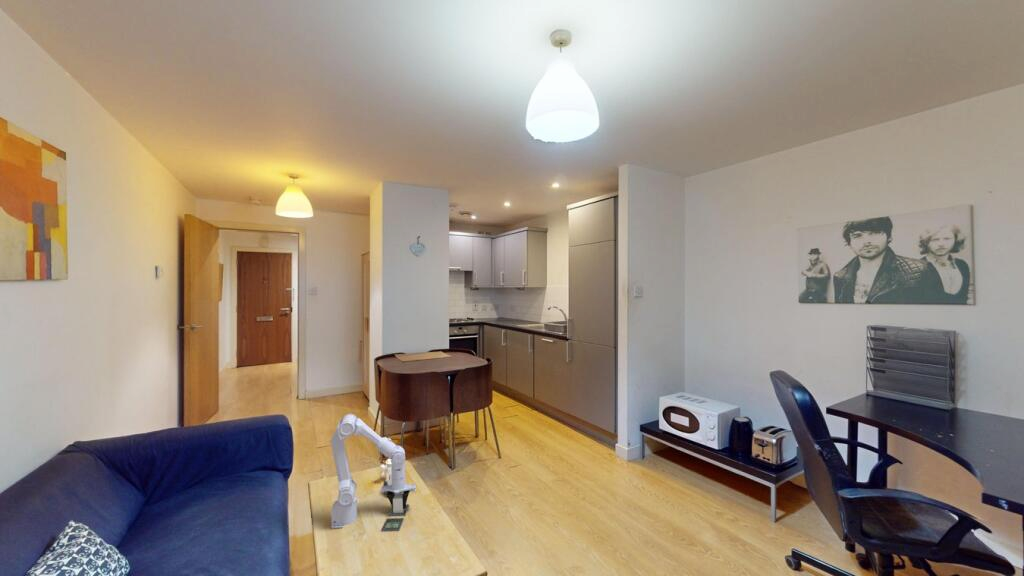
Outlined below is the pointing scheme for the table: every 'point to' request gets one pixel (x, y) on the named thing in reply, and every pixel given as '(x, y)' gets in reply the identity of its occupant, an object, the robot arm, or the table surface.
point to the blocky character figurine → (387, 469)
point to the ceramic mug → (388, 483)
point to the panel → (394, 521)
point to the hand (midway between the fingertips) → (399, 507)
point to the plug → (398, 503)
